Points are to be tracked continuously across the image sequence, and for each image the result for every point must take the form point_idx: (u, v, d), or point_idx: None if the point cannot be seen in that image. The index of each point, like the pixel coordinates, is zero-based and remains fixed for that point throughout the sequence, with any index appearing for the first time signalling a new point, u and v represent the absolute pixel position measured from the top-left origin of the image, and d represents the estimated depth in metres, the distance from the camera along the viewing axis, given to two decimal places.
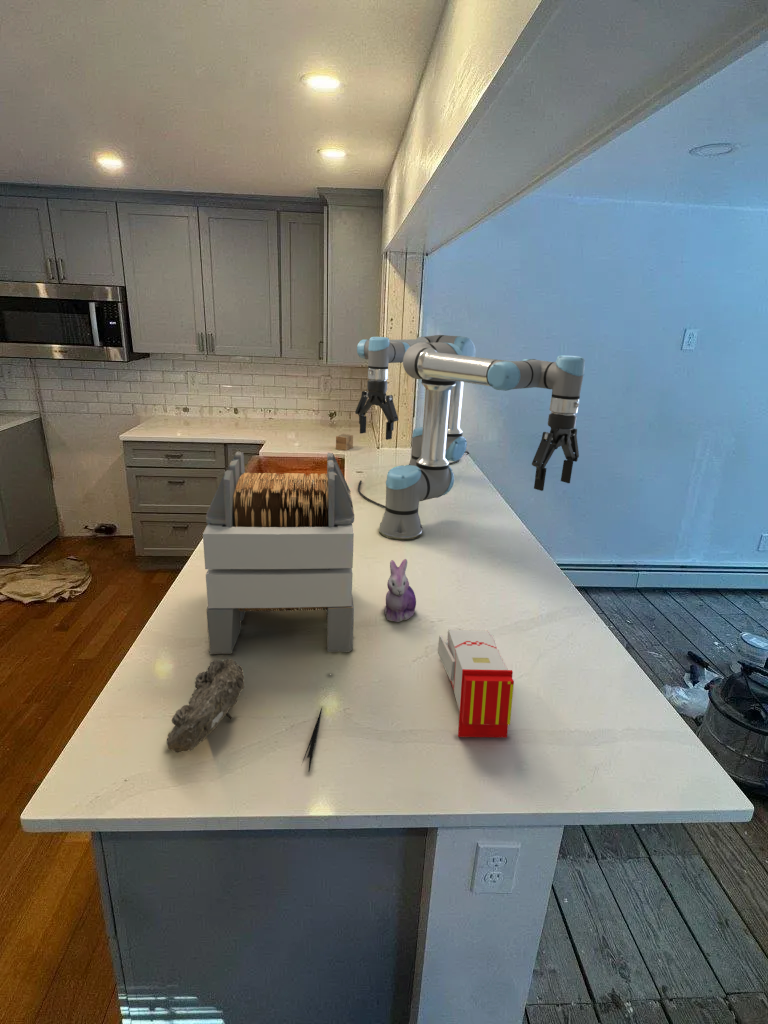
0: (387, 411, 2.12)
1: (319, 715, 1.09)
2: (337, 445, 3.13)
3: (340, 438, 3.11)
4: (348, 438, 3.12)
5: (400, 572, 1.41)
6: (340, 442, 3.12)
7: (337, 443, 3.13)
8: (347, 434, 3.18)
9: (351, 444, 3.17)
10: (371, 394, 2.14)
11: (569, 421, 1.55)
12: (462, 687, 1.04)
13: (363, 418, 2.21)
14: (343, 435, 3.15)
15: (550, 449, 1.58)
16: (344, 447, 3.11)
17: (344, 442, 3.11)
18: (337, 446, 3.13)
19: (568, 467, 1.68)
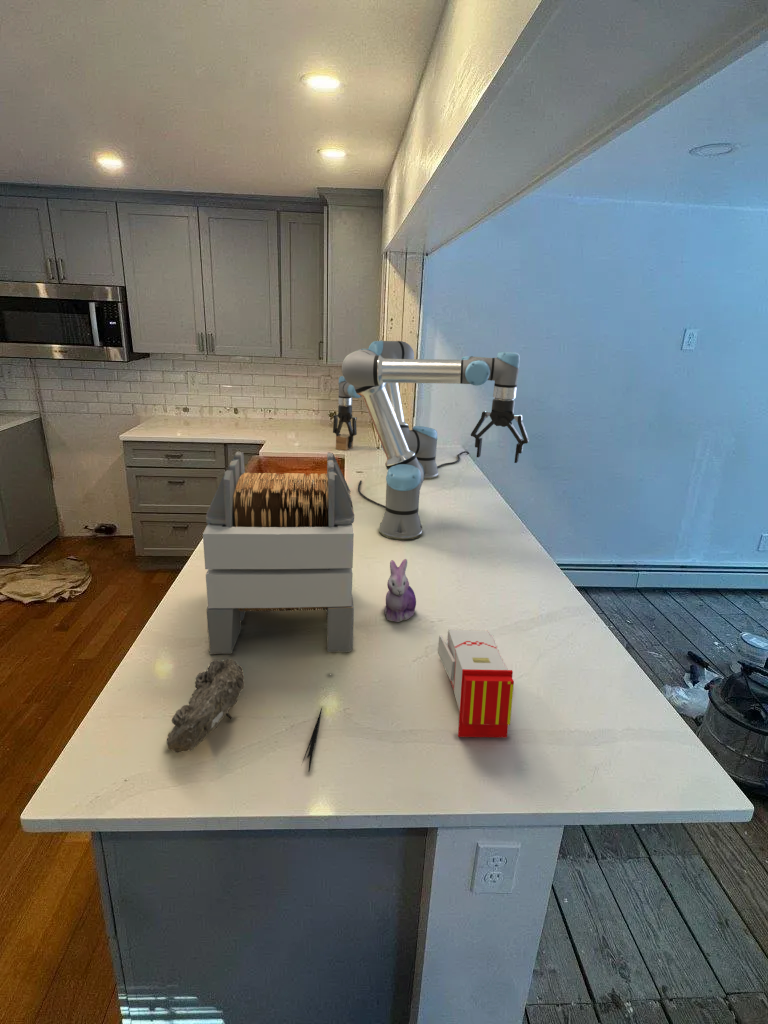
0: None
1: (319, 715, 1.09)
2: (337, 445, 3.13)
3: (340, 438, 3.11)
4: None
5: (400, 572, 1.41)
6: (340, 442, 3.12)
7: (337, 443, 3.13)
8: (347, 434, 3.18)
9: None
10: None
11: None
12: (462, 687, 1.04)
13: None
14: (343, 435, 3.15)
15: (514, 428, 1.96)
16: (344, 447, 3.11)
17: (344, 442, 3.11)
18: (337, 446, 3.13)
19: (481, 443, 2.02)
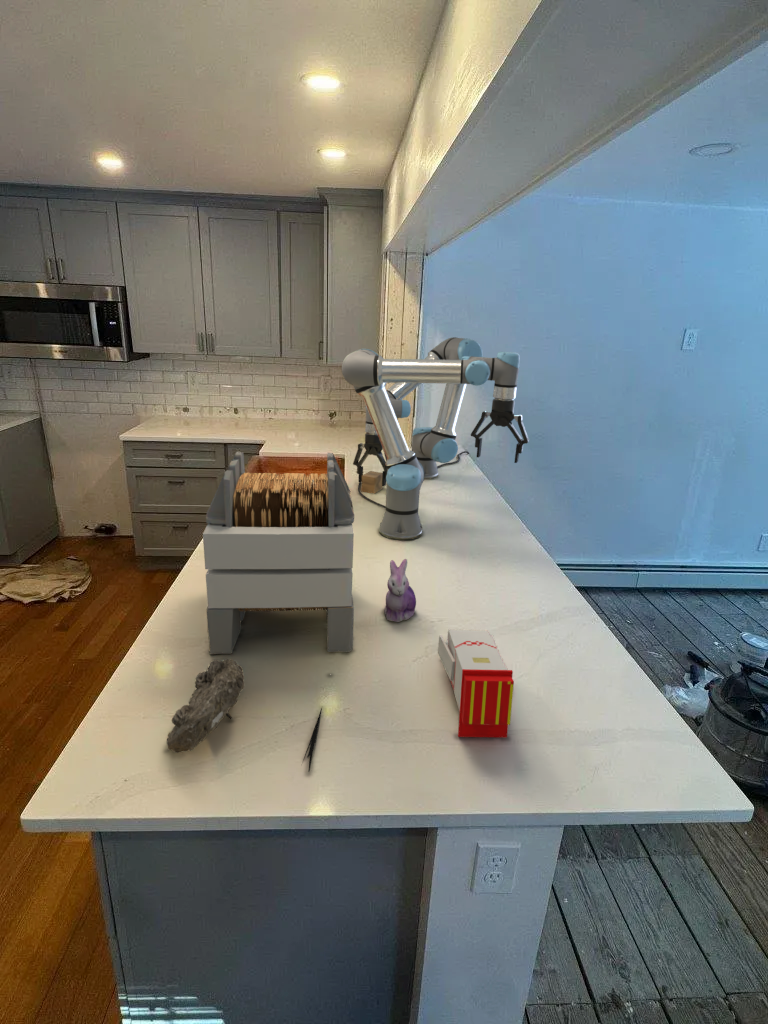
0: None
1: (319, 715, 1.09)
2: (363, 487, 2.43)
3: (367, 478, 2.41)
4: (377, 478, 2.42)
5: (400, 572, 1.41)
6: (366, 483, 2.42)
7: (363, 484, 2.43)
8: (375, 472, 2.48)
9: (381, 485, 2.47)
10: None
11: None
12: (462, 687, 1.04)
13: None
14: (371, 473, 2.45)
15: (514, 428, 1.96)
16: (372, 489, 2.41)
17: (372, 483, 2.41)
18: (363, 488, 2.43)
19: (481, 443, 2.02)
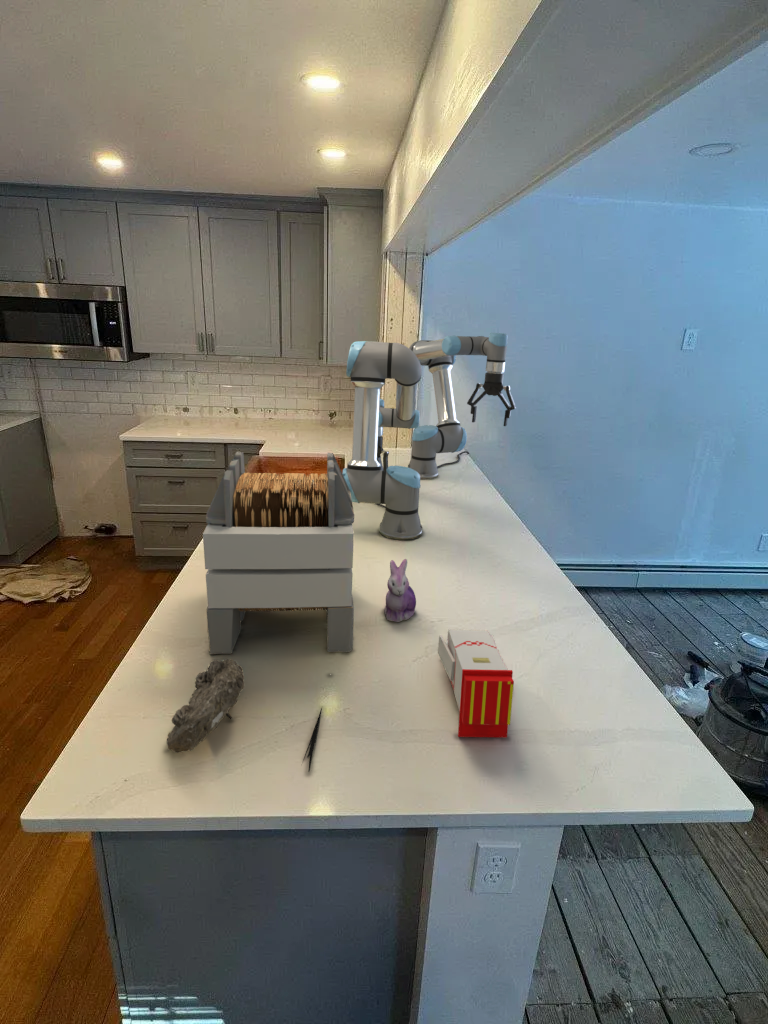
0: (478, 397, 2.39)
1: (319, 715, 1.09)
2: None
3: None
4: None
5: (400, 572, 1.41)
6: None
7: None
8: None
9: None
10: None
11: None
12: (462, 687, 1.04)
13: None
14: None
15: (380, 461, 2.42)
16: None
17: None
18: None
19: None
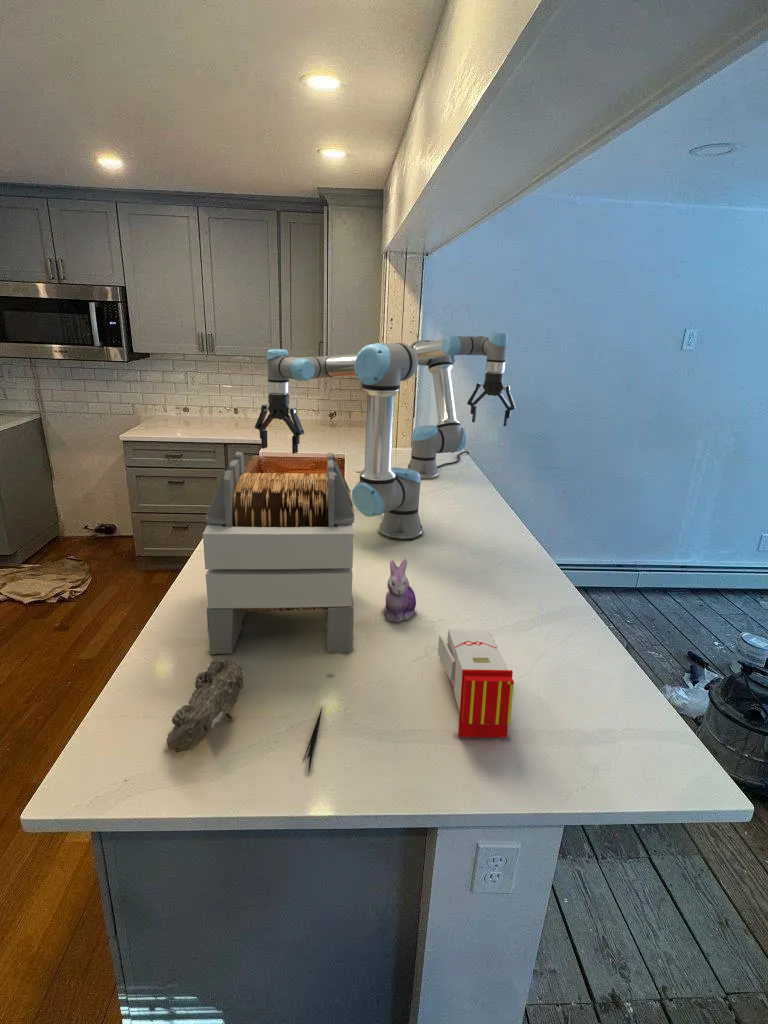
0: (478, 397, 2.39)
1: (319, 715, 1.09)
2: None
3: None
4: None
5: (400, 572, 1.41)
6: None
7: None
8: None
9: None
10: None
11: None
12: (462, 687, 1.04)
13: None
14: None
15: (291, 421, 2.08)
16: None
17: None
18: None
19: (266, 435, 2.15)
